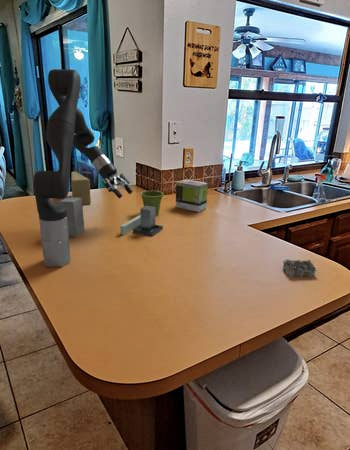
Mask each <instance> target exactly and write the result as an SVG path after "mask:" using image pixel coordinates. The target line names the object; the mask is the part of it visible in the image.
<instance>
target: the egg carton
mask: <svg viewBox="0 0 350 450" xmlns="http://www.w3.org/2000/svg"><path fill="white" fill-rule="evenodd" d="M282 263H283V265H282V270H283V271H285V270H286V271H285V275H286V276H290V277H295V276H298V275H299V276H298V277H300V276H302V277H304V276H307V275H308V277H309V276H311V277H310V278H312V277H313V276H315V275H316V274H315V273H316V272H317V271H318V269H316V267H315V266H314V264H313V263H312V260H311V259H308V260H300V259H296V260H295V259H294V260H290V259H284V260H283V261H282ZM295 267H296V268H295ZM303 275H304V276H303ZM312 275H313V276H312Z"/></svg>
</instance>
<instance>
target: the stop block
mask: <svg viewBox="0 0 350 450" xmlns="http://www.w3.org/2000/svg"><path fill="white" fill-rule="evenodd" d="M155 213H156V207H151V206H144V205H143V206H141V208H140V214H139V215H140V230H145V231H149V232H152V231H154V230H155V229H156V228H155V225H156V215H155Z"/></svg>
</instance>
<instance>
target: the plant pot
mask: <svg viewBox="0 0 350 450" xmlns="http://www.w3.org/2000/svg"><path fill="white" fill-rule="evenodd" d="M140 195H141V196H140V197H141V199H142V204H143V207H144V206H151V207H156V213H155V216H158V215H159V214H160V209H161V202H162V198H163V195H164V192H162V191H159V190H144V191H141V192H140Z"/></svg>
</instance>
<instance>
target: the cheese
mask: <svg viewBox="0 0 350 450" xmlns="http://www.w3.org/2000/svg"><path fill="white" fill-rule="evenodd" d="M70 180H71V181H70V182H71V183H70V185H71V195H72V196H71V197H78V198H82V206H89V205H91V204H92V202H91V201H92V200H91V199H92V197H91V182H90V179H89V178H88V177H85V176H84V175H82V174H80V173H79V172H78V171H71V172H70Z"/></svg>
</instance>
